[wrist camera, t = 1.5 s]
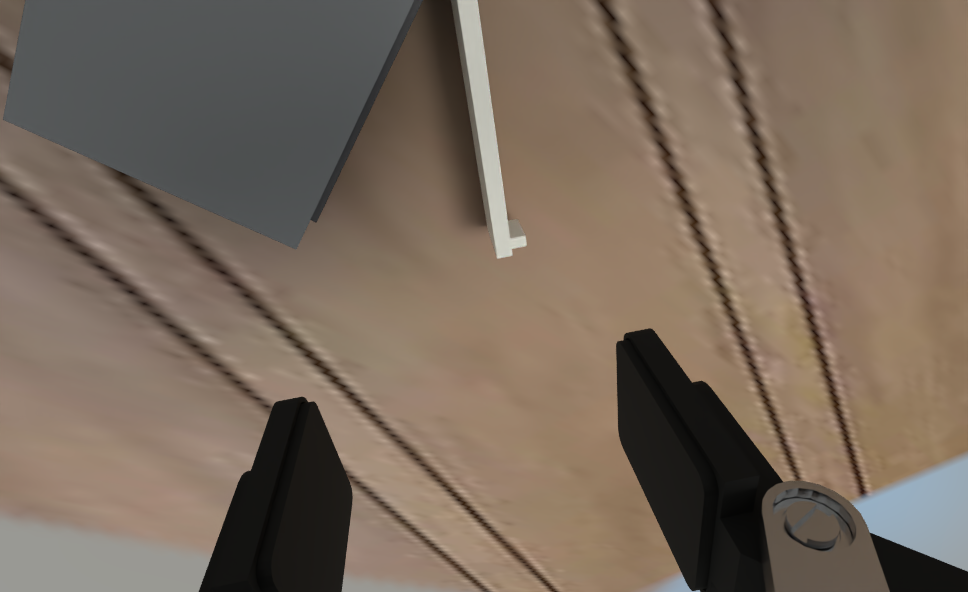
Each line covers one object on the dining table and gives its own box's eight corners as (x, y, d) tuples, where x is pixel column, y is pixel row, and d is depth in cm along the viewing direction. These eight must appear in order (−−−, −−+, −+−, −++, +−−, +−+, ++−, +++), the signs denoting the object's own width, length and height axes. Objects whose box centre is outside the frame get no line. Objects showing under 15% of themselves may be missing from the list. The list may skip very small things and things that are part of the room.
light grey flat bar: (481, -49, 23) (493, -58, 20) (516, 223, 30) (529, 252, 26) (439, -42, 23) (444, -49, 20) (484, 229, 30) (493, 259, 26)
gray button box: (449, -59, 23) (458, -73, 19) (317, 218, 29) (300, 257, 24) (108, -309, 18) (12, -407, 14) (28, 82, 24) (-58, 100, 19)
